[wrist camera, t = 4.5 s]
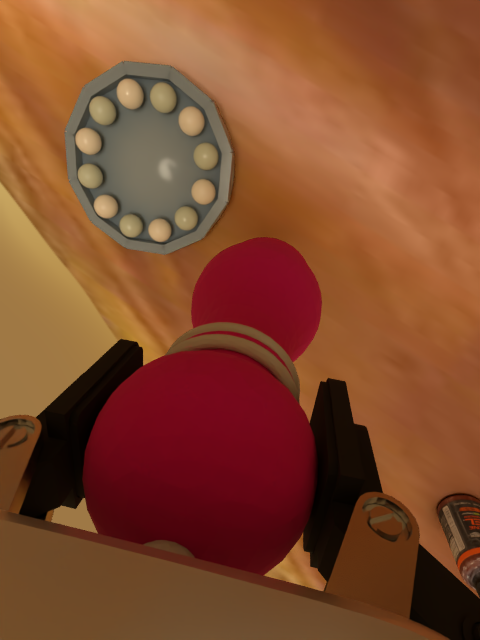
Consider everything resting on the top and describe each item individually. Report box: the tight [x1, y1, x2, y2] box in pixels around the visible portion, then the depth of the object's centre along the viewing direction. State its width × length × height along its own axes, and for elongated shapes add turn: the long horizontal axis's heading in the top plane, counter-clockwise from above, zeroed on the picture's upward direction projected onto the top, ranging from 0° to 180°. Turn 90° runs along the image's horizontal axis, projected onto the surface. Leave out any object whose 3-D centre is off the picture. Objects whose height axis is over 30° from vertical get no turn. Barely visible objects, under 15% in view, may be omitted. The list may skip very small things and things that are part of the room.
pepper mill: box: [82, 237, 322, 576], centre depth 15 cm, size 7×7×20 cm
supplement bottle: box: [437, 495, 480, 597], centre depth 42 cm, size 6×6×11 cm
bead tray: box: [65, 61, 235, 255], centre depth 35 cm, size 17×17×4 cm
